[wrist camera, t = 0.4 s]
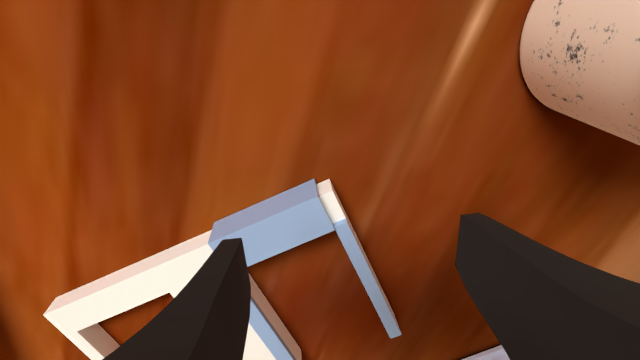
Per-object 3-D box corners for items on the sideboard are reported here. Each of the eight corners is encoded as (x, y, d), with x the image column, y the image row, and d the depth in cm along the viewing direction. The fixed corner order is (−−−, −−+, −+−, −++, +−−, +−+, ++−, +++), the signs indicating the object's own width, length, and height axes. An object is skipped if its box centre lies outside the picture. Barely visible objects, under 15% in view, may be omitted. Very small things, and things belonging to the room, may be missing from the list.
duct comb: (394, 313, 27) (402, 338, 25) (164, 402, 29) (156, 431, 27) (326, 173, 22) (331, 190, 20) (51, 293, 24) (31, 319, 22)
